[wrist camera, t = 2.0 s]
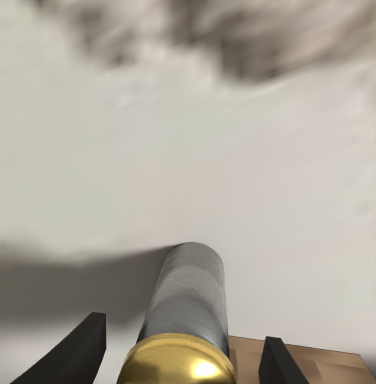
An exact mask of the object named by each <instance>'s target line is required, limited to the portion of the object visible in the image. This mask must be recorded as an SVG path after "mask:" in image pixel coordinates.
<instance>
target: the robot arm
mask: <svg viewBox="0 0 376 384" xmlns="http://www.w3.org/2000/svg"><path fill="white" fill-rule="evenodd" d="M105 351H106V314H104V313H97V312H92V313H91V314H90V315H89V316H88V317H87V318H85V319H84V320H83V321H82V322H81V323H80V324H79V325H78V326H77V327H76V328H75V329H74V330H73V331H72V332H71V333H70V334H69V335H68V336H66V337H65V338H64V339H63V340H62V341H61V342H60V343H59V344H58V345H56V346H55V347H54V348H53V349H52V350H51V351H50V352H49V353H47V354H46V355H45V356H44V357H43V358H41V359H40V360H39V361H38V362H37V363H35V364H34V365H33V366H32V367H31V368H29V369H28V370H27V371H26V372H24V373H23V374H22V375H21V376H19V377H18V378H17V379H15V380H14V381H13V382H11V383H10V384H93V382H94V379H95V377H96V375H97V373H98V370H99V367H100V365H101V362H102V359H103V356H104V354H105ZM258 374H259V383H260V384H310V383H309V382H308V380H307V379H306V377H305V376H304V374H303V373H302V371H301V370H300V368H299V367H298V365H297V363H296V362H295V360H294V359H293V357H292V356H291V354H290V352H289V351H288V349H287V348H286V346H285V344H284V343H283V341H282V340H281V338H275V337H268V336H266V339H265V343H264V348H263V352H262V357H261V361H260V365H259V370H258Z"/></svg>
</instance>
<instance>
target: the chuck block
mask: <svg viewBox="0 0 376 384" xmlns="http://www.w3.org/2000/svg"><path fill="white" fill-rule="evenodd" d="M228 340H229V355H230V362H231V364H232V365H233V368H234V370H235V373H236V379H237V384H260V383H259V374H258V370H259V365H260V361H261V357H262V352H263V348H264V343H265V341H260V340H253V339H246V338H239V337H232V336H228ZM285 346H286V348H287V349H288V351H289V352H290V354H291V356H292V357H293V359H294V360H295V362H296V363H297V365H298V367H299V368H300V370H301V371H302V373H303V374H304V376H305V377H306V379H307V380H308V382H309V383H310V384H376V380H375V379H374V377H373V375H372V374H371V372H370V371H369V369H368V367H367V366H366V364H365V363H364V361H363V359H362V358H361V356H360V355H356V354H350V353H343V352H336V351H329V350H322V349H315V348H308V347H301V346H294V345H288V344H285Z"/></svg>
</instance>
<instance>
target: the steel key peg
mask: <svg viewBox="0 0 376 384" xmlns="http://www.w3.org/2000/svg"><path fill="white" fill-rule="evenodd" d="M116 384H237V379H236V373H235V370H234V368H233V365H232V364H231V362H230V355H229V340H228V325H227V310H226V295H225V280H224V267H223V263H222V260H221V258H220V257H219V255H218V254H217V253H216V252H215V251H214V250H213V249H211V248H210V247H208V246H206V245H204V244H200V243H193V242H191V243H184V244H180V245H178V246H176V247H175V248H173V249H172V250H171V251H170V252H169V253H168V254H167V256H166V258H165V260H164V263H163V266H162V269H161V272H160V275H159V278H158V281H157V284H156V287H155V289H154V292H153V295H152V298H151V301H150V304H149V307H148V310H147V313H146V316H145V319H144V321H143V324H142V327H141V330H140V333H139V336H138V339H137V342H136V345H135V346H134V347H133V348H132V349H131V350H130V351H129V353H128V354H127V356H126V358H125V361H124V363H123V366H122V369H121V372H120V374H119V377H118V380H117V383H116Z"/></svg>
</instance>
